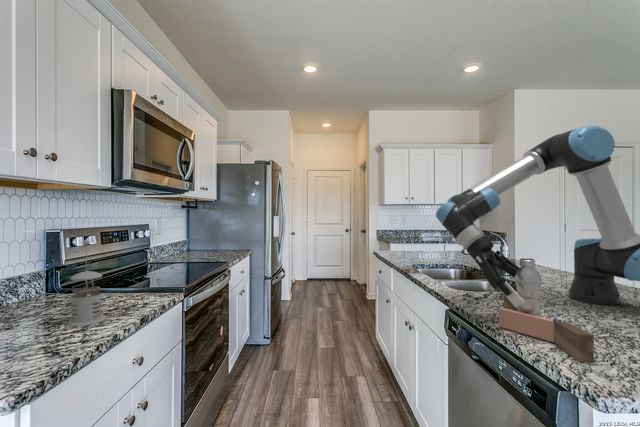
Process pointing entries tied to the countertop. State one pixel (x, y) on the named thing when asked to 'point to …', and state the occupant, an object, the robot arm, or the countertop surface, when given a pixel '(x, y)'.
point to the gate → (528, 324)
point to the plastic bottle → (528, 287)
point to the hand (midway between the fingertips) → (529, 300)
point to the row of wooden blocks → (569, 338)
